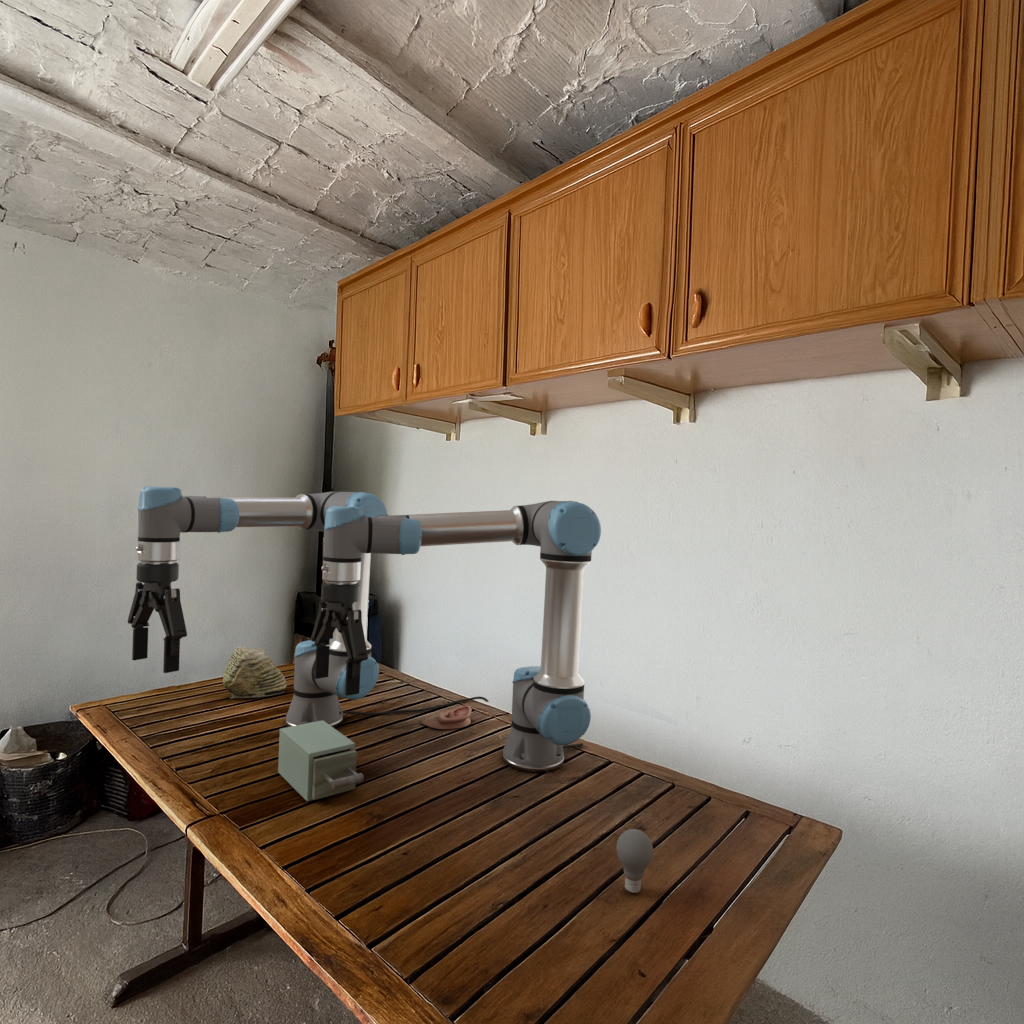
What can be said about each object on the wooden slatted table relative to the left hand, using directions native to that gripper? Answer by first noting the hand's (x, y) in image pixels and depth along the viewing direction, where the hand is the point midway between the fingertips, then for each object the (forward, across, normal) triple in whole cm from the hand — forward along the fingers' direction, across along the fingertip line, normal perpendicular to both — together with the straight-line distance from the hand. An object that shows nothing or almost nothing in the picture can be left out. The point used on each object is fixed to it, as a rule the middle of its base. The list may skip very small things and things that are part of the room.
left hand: (155, 665), depth 130 cm
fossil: (+28, -45, +51) cm, 73 cm away
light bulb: (+27, +91, +36) cm, 102 cm away
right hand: (+2, +31, +22) cm, 38 cm away
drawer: (+26, +24, +25) cm, 44 cm away
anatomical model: (+28, +15, +74) cm, 80 cm away
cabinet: (+27, +18, +27) cm, 42 cm away
